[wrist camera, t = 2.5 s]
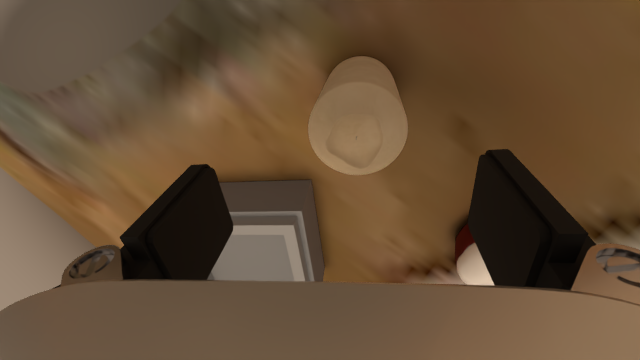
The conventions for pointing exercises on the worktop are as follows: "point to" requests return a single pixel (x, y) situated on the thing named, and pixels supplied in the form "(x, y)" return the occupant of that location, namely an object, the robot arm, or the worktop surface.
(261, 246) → the pedestal
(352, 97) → the candle
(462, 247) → the cocoa
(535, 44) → the worktop surface
